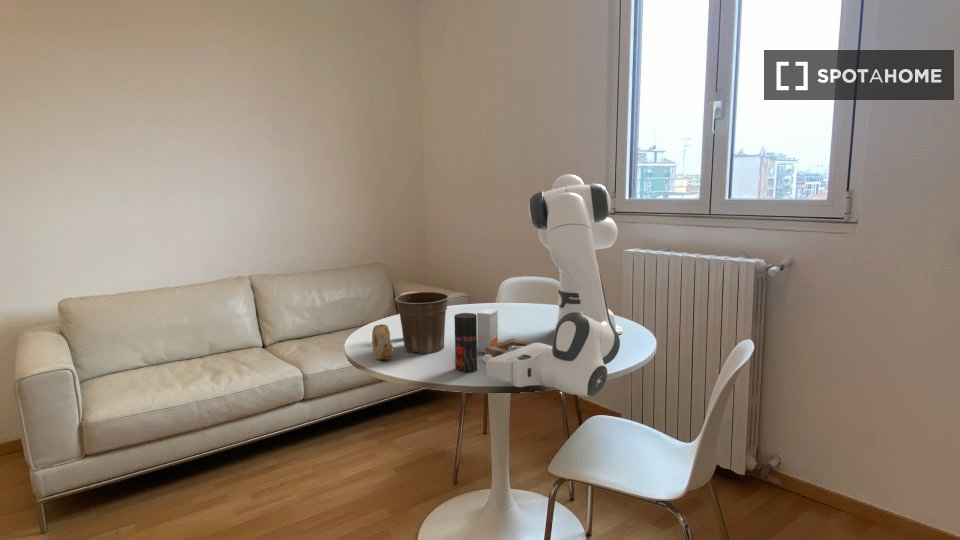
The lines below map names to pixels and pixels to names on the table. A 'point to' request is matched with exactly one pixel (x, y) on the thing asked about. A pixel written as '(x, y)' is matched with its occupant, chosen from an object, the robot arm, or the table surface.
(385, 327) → the stone disc
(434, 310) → the plant pot
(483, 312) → the skincare box
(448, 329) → the table surface
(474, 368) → the deodorant
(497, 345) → the walnut socket block
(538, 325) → the table surface
